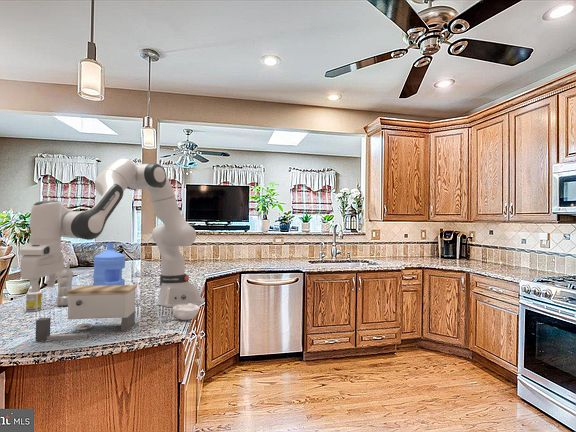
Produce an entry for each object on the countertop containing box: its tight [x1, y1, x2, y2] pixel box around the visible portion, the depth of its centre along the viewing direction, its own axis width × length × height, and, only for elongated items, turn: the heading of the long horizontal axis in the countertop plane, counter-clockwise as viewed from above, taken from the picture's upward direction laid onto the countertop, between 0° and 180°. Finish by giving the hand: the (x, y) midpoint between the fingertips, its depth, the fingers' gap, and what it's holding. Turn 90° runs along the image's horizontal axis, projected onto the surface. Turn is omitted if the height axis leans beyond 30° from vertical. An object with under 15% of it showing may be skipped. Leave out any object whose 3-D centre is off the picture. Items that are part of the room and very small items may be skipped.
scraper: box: [35, 317, 90, 342], centre depth 117 cm, size 16×3×7 cm, turn 99°
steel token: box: [75, 322, 93, 332], centre depth 129 cm, size 5×5×2 cm
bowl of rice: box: [172, 303, 201, 321], centre depth 143 cm, size 10×12×7 cm
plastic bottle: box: [55, 262, 74, 307], centre depth 163 cm, size 6×7×20 cm
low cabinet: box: [66, 284, 138, 332], centre depth 129 cm, size 21×12×15 cm, turn 99°
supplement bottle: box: [25, 286, 43, 313], centre depth 154 cm, size 6×6×10 cm
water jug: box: [92, 242, 126, 286], centre depth 192 cm, size 16×16×28 cm
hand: (43, 289), depth 117 cm, fingers open, 8 cm apart
